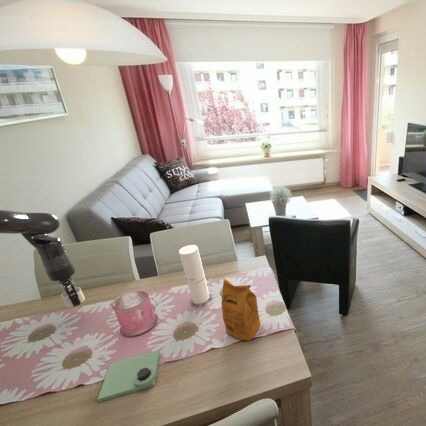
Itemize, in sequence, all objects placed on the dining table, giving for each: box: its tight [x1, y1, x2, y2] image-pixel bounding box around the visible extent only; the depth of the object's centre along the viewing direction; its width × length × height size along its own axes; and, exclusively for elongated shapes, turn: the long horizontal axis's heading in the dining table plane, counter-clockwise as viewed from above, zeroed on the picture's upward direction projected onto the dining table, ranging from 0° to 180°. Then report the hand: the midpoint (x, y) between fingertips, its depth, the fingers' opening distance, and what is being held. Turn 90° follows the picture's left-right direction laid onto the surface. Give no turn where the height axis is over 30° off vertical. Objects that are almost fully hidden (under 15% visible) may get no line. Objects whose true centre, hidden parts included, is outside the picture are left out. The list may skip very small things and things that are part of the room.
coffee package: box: [221, 278, 261, 342], centre depth 106 cm, size 10×12×22 cm
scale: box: [97, 350, 161, 403], centre depth 94 cm, size 16×14×3 cm
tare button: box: [137, 368, 150, 381], centre depth 91 cm, size 3×3×2 cm
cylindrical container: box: [178, 244, 210, 305], centre depth 123 cm, size 7×7×25 cm
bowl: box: [60, 286, 86, 308], centre depth 112 cm, size 6×6×5 cm
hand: (75, 301), depth 113 cm, fingers closed on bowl, 6 cm apart
